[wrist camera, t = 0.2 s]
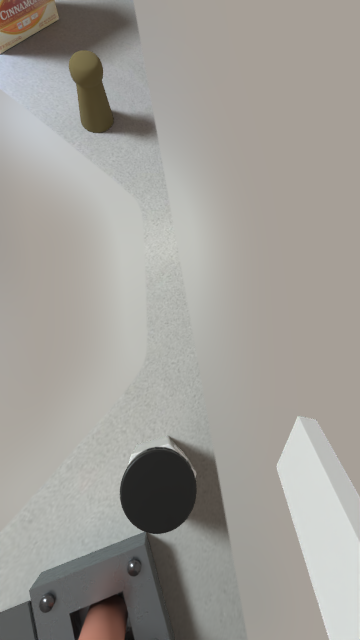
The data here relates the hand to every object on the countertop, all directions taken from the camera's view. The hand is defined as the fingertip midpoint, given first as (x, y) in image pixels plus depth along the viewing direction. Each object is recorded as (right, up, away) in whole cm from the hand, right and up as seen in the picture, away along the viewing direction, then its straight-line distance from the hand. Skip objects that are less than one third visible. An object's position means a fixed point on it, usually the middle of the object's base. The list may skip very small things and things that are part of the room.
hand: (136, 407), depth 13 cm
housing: (-7, -34, +27) cm, 44 cm away
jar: (-1, -17, +32) cm, 37 cm away
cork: (-14, +41, +46) cm, 63 cm away
